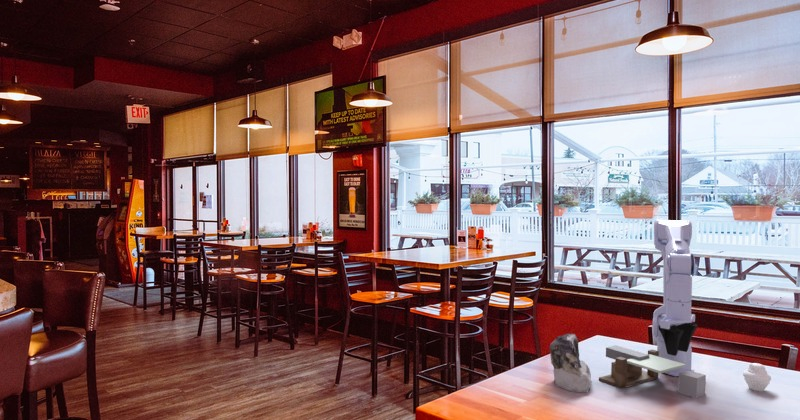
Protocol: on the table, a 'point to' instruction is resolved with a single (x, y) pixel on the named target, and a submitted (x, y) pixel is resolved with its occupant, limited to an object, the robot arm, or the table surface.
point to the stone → (569, 364)
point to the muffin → (756, 377)
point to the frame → (628, 373)
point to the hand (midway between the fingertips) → (677, 352)
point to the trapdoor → (643, 359)
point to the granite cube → (692, 383)
